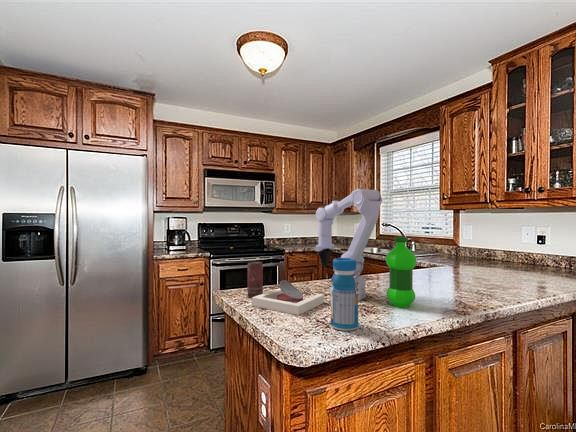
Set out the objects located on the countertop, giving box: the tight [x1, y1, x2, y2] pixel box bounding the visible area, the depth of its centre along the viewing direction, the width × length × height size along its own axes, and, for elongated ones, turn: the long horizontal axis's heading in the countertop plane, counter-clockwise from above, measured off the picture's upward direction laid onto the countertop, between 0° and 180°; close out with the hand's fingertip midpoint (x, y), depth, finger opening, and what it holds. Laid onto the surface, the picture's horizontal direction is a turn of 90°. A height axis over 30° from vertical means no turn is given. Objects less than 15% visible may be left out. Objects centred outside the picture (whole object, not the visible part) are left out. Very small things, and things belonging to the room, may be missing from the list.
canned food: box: [276, 279, 304, 303], centre depth 120 cm, size 11×10×10 cm
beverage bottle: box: [329, 257, 359, 332], centre depth 95 cm, size 8×8×20 cm
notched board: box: [251, 287, 325, 316], centre depth 119 cm, size 20×18×3 cm
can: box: [247, 260, 264, 299], centre depth 130 cm, size 6×6×14 cm
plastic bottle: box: [385, 236, 417, 309], centre depth 117 cm, size 10×10×25 cm
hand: (324, 266), depth 141 cm, fingers closed
